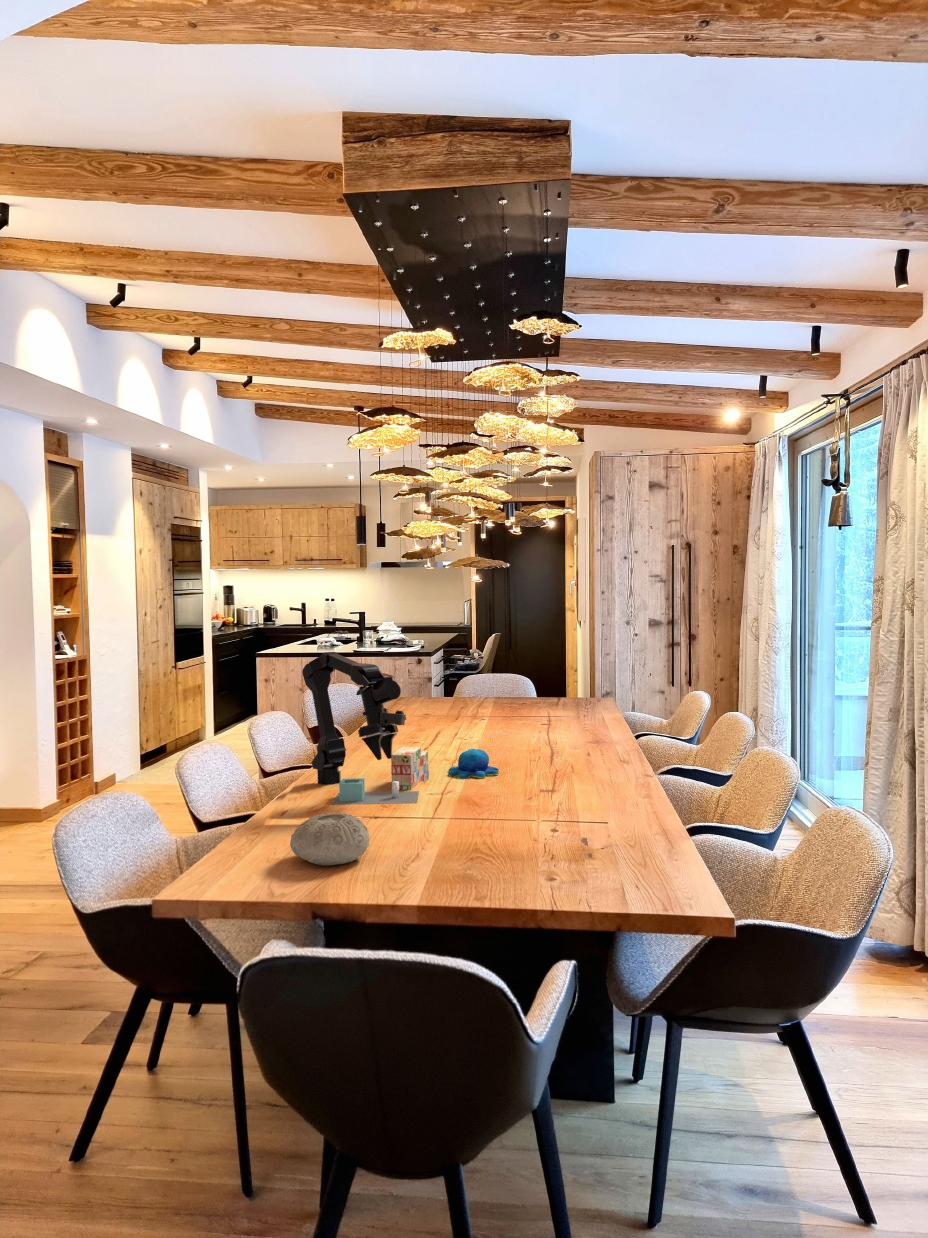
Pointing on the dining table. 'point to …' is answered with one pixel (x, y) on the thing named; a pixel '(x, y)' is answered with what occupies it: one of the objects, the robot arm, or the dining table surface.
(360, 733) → the robot arm
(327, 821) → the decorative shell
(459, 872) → the dining table surface
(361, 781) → the teal hollow block
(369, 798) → the grey piece
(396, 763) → the stack of blocks
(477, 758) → the plush toy
